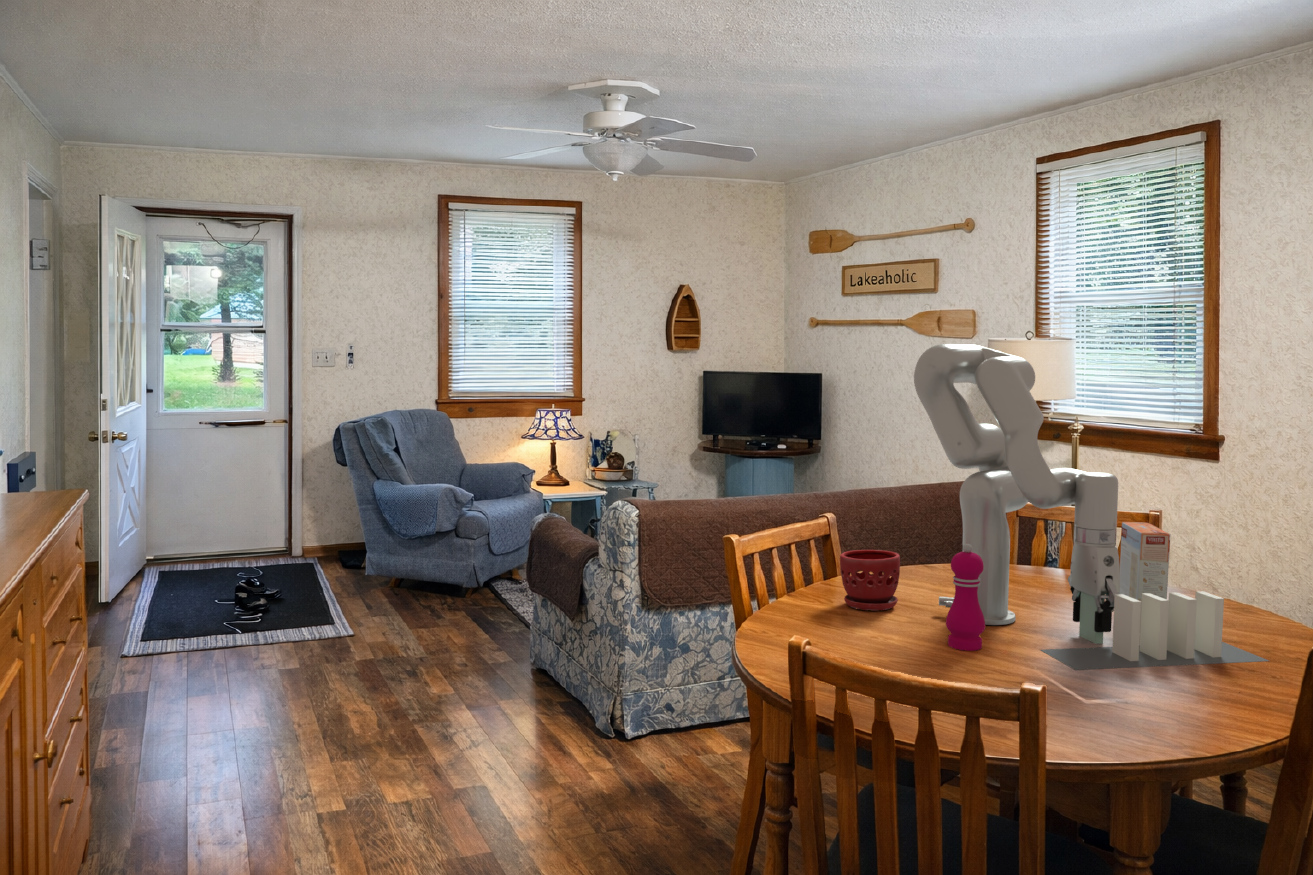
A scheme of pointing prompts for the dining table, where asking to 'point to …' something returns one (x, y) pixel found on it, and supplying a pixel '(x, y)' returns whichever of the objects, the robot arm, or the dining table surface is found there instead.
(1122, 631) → the domino
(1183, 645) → the domino
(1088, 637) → the sage domino
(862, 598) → the plant pot
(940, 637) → the dining table surface
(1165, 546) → the cracker box
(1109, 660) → the domino mat
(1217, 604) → the domino
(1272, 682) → the dining table surface
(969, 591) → the pepper mill
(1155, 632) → the domino
